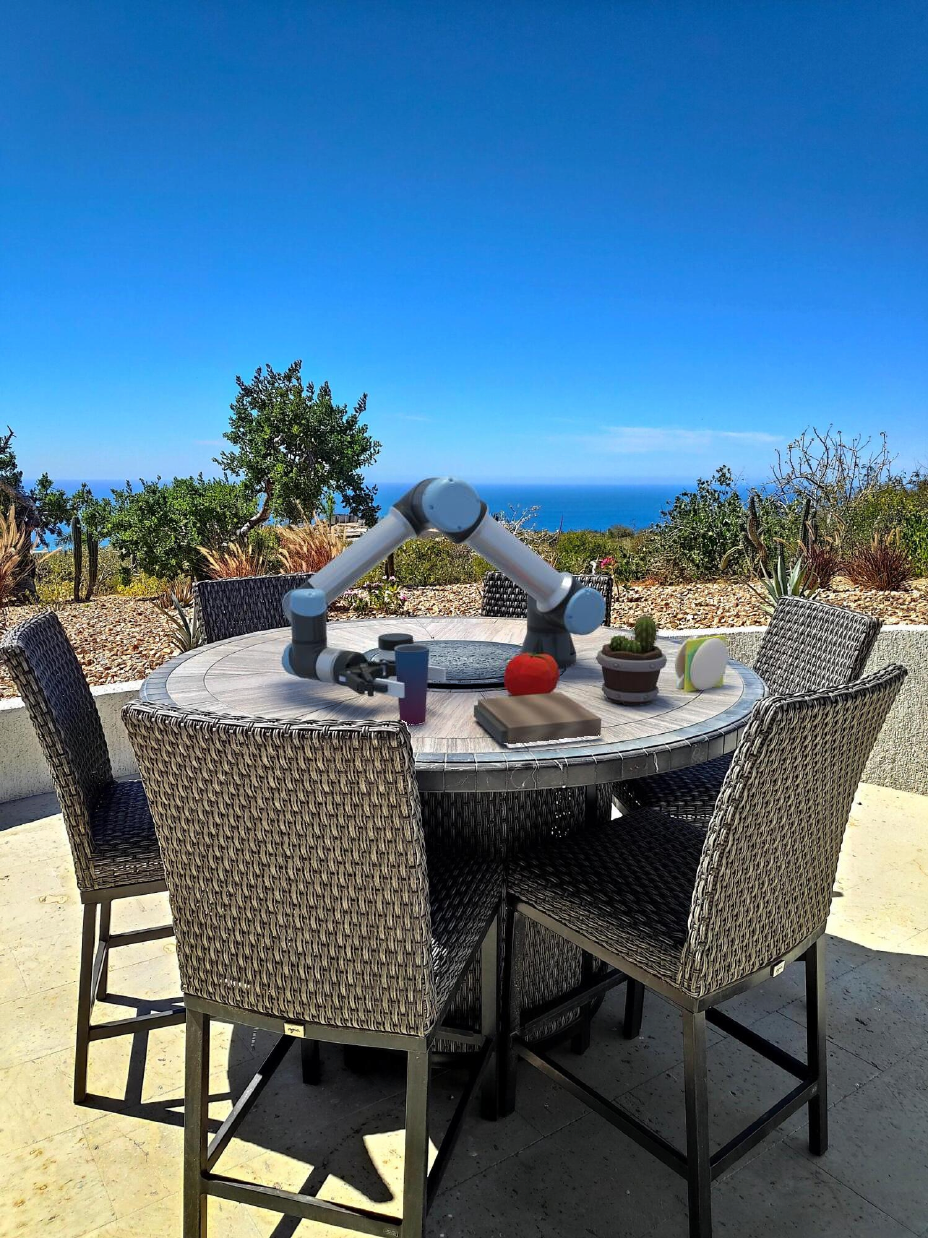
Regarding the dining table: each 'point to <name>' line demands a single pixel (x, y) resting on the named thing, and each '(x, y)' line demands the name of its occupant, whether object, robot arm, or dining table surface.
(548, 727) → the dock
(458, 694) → the dining table surface
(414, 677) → the cup
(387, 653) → the jar
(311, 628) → the robot arm
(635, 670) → the flowerpot
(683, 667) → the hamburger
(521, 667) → the tomato
